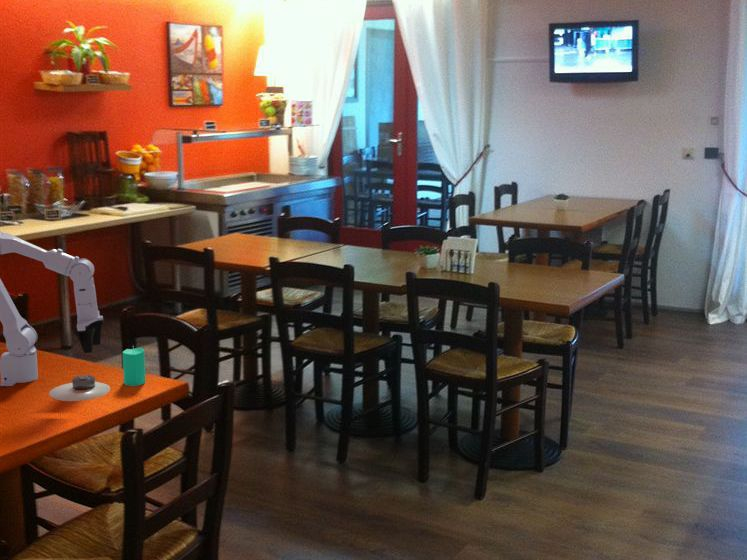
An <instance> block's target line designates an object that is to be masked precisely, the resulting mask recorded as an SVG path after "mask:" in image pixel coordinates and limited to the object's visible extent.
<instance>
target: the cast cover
mask: <svg viewBox="0 0 747 560" xmlns="http://www.w3.org/2000/svg"><path fill="white" fill-rule="evenodd" d="M95 382H96V377H95V376H93V375H90V374H82V375H77V376H74V377H73V378H72V382H71V383H72V384H73V389H75V390H88V389H92V388H94V387H95Z"/></svg>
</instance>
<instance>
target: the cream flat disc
mask: <svg viewBox="0 0 747 560" xmlns="http://www.w3.org/2000/svg"><path fill="white" fill-rule="evenodd" d="M110 391H111V387H110V386H109V385H108V384H106V383H103V382H99V381H95V387H94V388H92V389H88V390H75V389H73V384H72V382H69V383H64V384H61V385H58V386H56V387H54V388H52V389H51V390H50V391H49V393H48V395H49V397H50V398H52V399H55V400H59V401H63V402H80V401H82V402H83V401H88V400H93V399H97V398H100V397H103V396H105V395H107V394H108V393H109V392H110Z"/></svg>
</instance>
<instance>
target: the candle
mask: <svg viewBox="0 0 747 560" xmlns="http://www.w3.org/2000/svg"><path fill="white" fill-rule="evenodd" d="M134 347H135V346H132V348H131V349H130V348H126V349H125V350H123V351H122V367H123V368H122V370H123V384H124V385H126V386H132V387H134V386H135V387H136V386H141V385H143V384H145V383H146V363H145V349H143V348H142V347H136V348H134Z"/></svg>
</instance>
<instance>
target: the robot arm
mask: <svg viewBox="0 0 747 560" xmlns="http://www.w3.org/2000/svg"><path fill="white" fill-rule="evenodd" d="M10 253H16V254H19V255H22V256H25V257H28V258H30V259H32V260H33V259H34V260H35V261H38V262H42V264H43V265H44V267H45V269H48V270H51V271H53V272H55V273H57V274H60V275H63V276H66V277H69V278H70V280H71V281H72V282H73V293H74V301H75V308H76V316H77V319H76V321H77V323H76V328H75V329H73V331H72V332H73V335H74V336H76V338H77V340H78V341H79V344H80V346H81V349H82V351H83V353H84V354H90V353H93V347H94V346H99V345H101V340H102V339H101V338H102V330H103V326H104V323H105V318H104V316H103V315H100V313H101V312H100V310H99V308H98V302H97V293H96V286H95V280H94V274H95V265H94V264H93V263H92V262H91V260H89V259H88V258H83V257H82V258H80V257H79V256H77V255H76V256H73V255H70V254H67V253H65V252H64V250H63V249H61V248H57V249H55V248H53V249H49V250H46V249H44V248H42V247H40V246H37V245H35V244H33V243H30V242H28V241H27V240H25V239H24V240H23V239H22V238H20V237H18V236H16V235H13V234H11V233H8V232H3V231H1V230H0V255H5V254H10ZM0 322H1V324H2V327H3V328H2V331H3V332H2V334H3V337H4V338H5V346H6V349H7V351H5V352H2V354H1V356H0V382H1V383H0V387H13V386H14V385H16V383H18V384H19V383H20V384H22V383H23V384H24V383H30V382H33V381H36V380H38V378H39V374H38V373H39V371H38V357H37V356H38V354H37V348H36V346H35V344H36V343H37V341H38V333H37V331H36V330H35V328H33V327H32V326H31V325H30V323H28V321H27V320H26V319H25V318H23V317H22V316H21V314H20V313H19V310H18V309H17V307H16V305H15V304H14V302H13V300H12V298H11V295H10V293H9V292H8V290H7V288H6V287H5V285H4V283H3V280H2V279H1V278H0Z"/></svg>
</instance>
